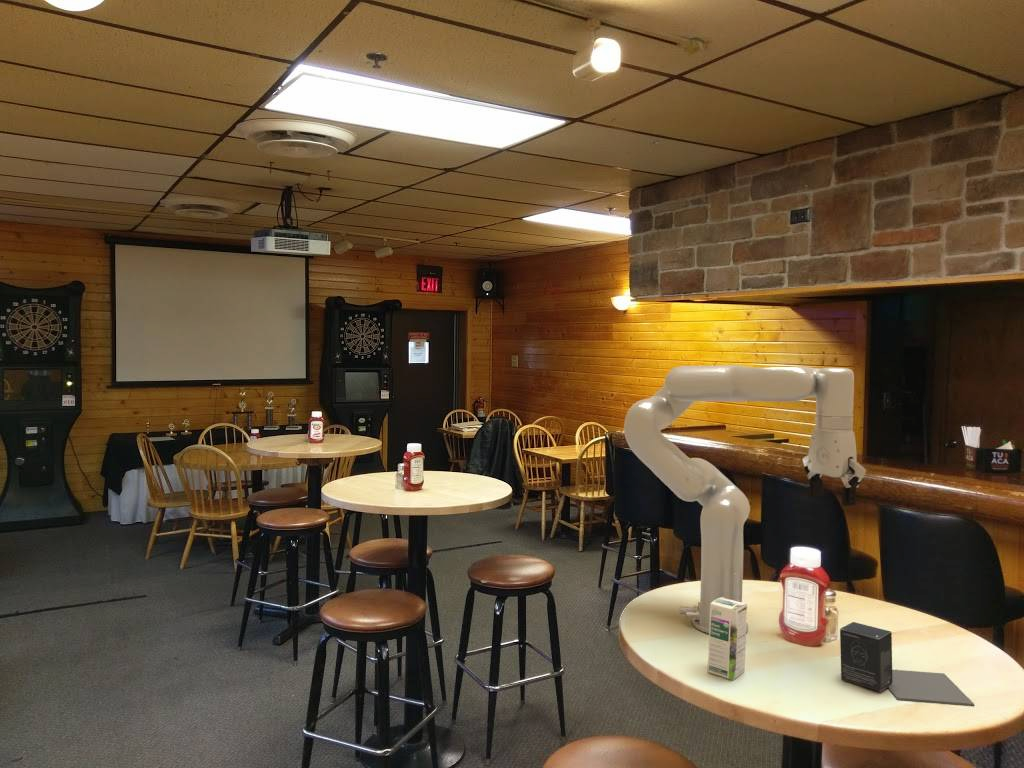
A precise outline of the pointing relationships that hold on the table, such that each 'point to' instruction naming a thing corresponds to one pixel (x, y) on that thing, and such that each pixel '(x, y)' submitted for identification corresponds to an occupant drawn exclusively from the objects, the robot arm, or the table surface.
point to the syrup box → (727, 638)
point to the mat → (926, 688)
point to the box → (866, 656)
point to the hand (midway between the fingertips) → (831, 500)
